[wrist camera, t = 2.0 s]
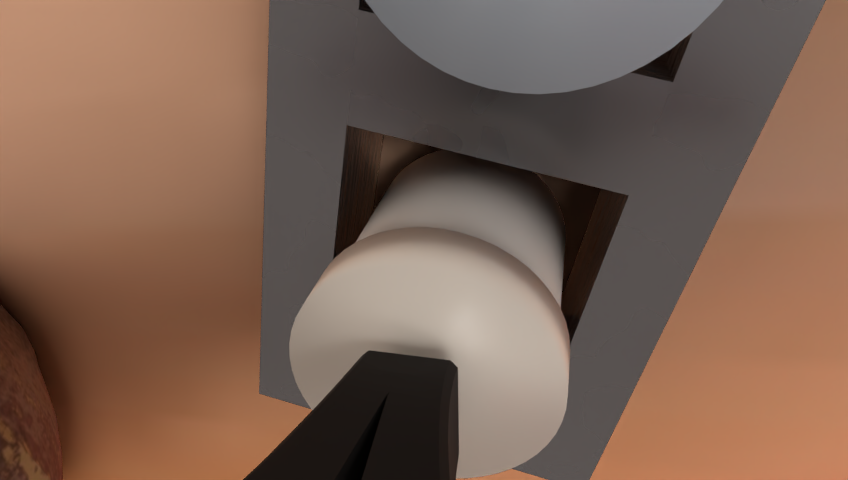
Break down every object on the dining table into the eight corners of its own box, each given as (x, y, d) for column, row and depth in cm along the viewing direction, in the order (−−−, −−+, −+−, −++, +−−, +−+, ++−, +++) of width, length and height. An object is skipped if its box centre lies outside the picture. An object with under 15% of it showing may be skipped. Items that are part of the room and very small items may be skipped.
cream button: (604, 169, 12) (608, 312, 9) (543, 338, 15) (526, 508, 11) (384, 114, 13) (296, 229, 9) (360, 287, 15) (284, 433, 11)
